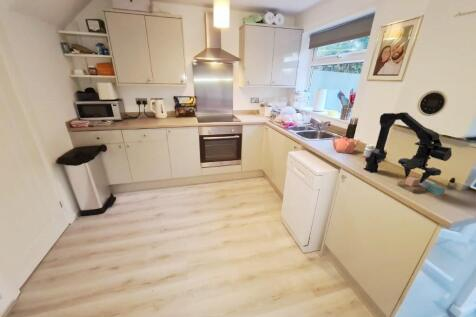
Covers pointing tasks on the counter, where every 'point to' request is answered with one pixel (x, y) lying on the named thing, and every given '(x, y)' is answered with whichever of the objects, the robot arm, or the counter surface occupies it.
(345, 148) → the pot
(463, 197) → the counter surface
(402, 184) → the walnut slab
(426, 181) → the grey brick
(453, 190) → the counter surface
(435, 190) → the teal brick
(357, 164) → the counter surface
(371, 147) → the pill bottle
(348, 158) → the counter surface
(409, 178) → the terracotta brick
